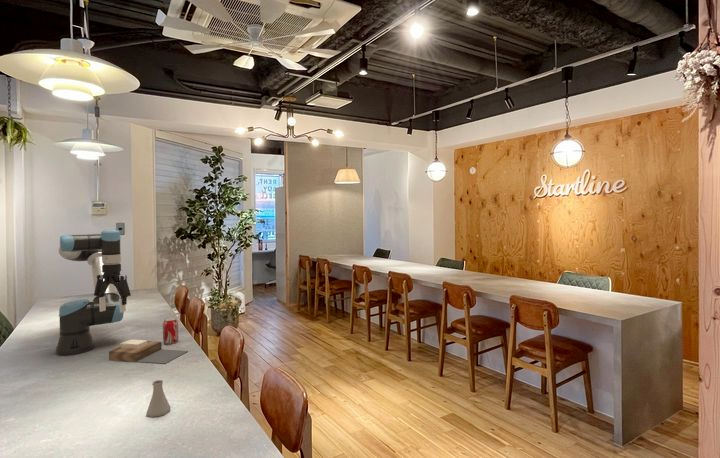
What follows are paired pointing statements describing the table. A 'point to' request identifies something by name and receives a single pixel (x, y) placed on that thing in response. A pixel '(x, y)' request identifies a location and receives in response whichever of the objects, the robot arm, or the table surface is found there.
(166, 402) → the flask
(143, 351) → the deck
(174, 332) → the soda can
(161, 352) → the mat
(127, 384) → the table surface
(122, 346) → the tile
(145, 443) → the table surface
